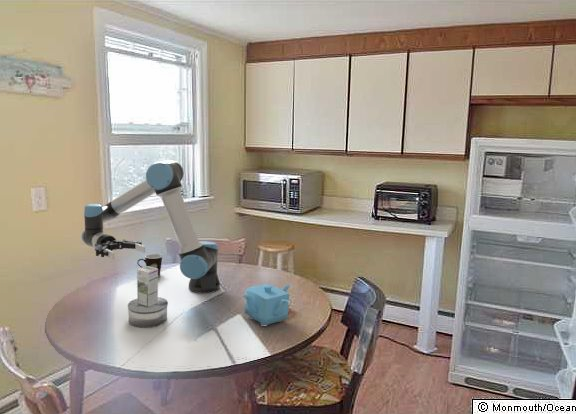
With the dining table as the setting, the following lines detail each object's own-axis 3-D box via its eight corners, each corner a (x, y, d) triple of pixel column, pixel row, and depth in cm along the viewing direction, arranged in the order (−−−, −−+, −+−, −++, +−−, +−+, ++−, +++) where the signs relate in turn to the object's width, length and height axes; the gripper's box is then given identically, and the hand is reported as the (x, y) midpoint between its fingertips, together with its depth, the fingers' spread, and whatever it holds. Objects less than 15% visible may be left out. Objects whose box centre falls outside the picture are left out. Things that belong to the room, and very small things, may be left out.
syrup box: (158, 302, 166) (158, 267, 163) (147, 307, 160) (148, 271, 158) (147, 299, 168) (147, 265, 166) (136, 304, 163) (136, 269, 160)
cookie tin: (162, 310, 175) (163, 294, 174) (171, 324, 163) (171, 308, 161) (125, 315, 168) (125, 299, 167) (131, 331, 155) (131, 314, 154)
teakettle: (248, 309, 182) (249, 277, 179) (290, 312, 180) (292, 280, 178) (239, 328, 163) (241, 292, 161) (287, 332, 162) (289, 297, 159)
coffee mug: (164, 272, 221) (165, 254, 219) (158, 278, 213) (158, 259, 211) (143, 270, 222) (143, 252, 220) (136, 275, 214) (136, 257, 212)
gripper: (130, 246, 194) (156, 255, 181) (75, 255, 175) (99, 267, 162) (130, 230, 193) (156, 238, 179) (75, 238, 174) (99, 248, 160)
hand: (129, 252), depth 170 cm, fingers open, 13 cm apart
